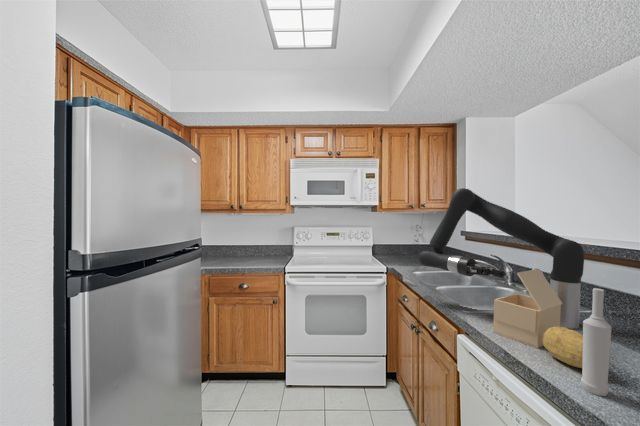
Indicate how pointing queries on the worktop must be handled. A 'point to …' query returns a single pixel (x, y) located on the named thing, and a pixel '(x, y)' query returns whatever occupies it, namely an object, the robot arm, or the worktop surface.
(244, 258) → the worktop surface
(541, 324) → the carton
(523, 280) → the carton flap
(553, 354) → the potato
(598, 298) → the bottle
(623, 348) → the worktop surface
